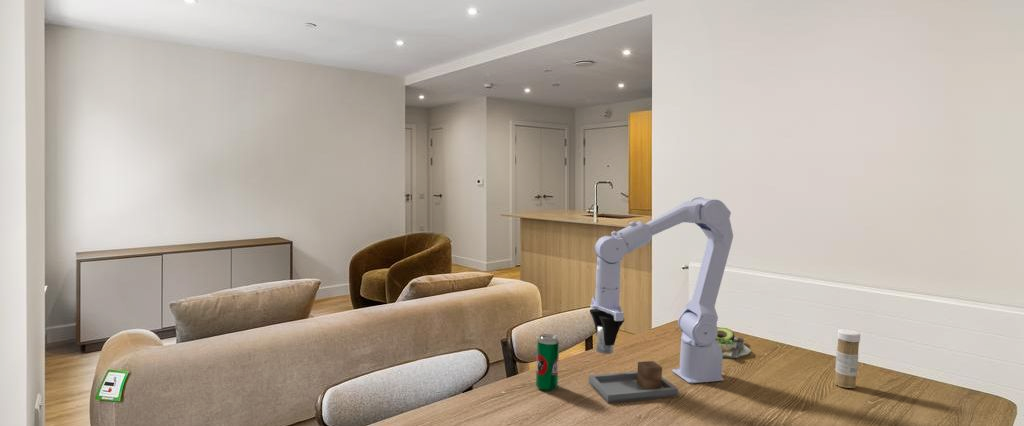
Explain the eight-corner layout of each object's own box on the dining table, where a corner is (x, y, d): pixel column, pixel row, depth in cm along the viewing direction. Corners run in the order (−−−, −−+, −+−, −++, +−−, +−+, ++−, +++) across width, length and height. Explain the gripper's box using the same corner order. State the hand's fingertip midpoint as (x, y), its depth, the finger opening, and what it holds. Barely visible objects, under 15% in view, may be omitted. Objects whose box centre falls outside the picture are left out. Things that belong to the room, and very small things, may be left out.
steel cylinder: (608, 347, 129) (609, 323, 129) (615, 353, 126) (616, 328, 125) (593, 348, 129) (594, 324, 128) (600, 354, 125) (601, 329, 124)
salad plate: (766, 364, 140) (767, 348, 139) (698, 362, 140) (699, 345, 140) (738, 340, 159) (739, 326, 158) (678, 338, 160) (679, 323, 159)
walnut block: (652, 381, 124) (653, 360, 124) (661, 388, 120) (662, 367, 120) (637, 382, 123) (638, 362, 123) (645, 389, 120) (646, 368, 119)
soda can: (556, 392, 118) (558, 341, 117) (534, 390, 119) (535, 339, 118) (558, 384, 123) (560, 334, 122) (537, 381, 124) (539, 332, 123)
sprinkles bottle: (847, 382, 128) (852, 328, 127) (860, 390, 124) (865, 334, 123) (829, 381, 128) (833, 328, 127) (841, 389, 124) (846, 334, 122)
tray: (653, 377, 128) (653, 370, 128) (677, 396, 118) (678, 388, 118) (588, 382, 124) (588, 375, 124) (607, 403, 114) (608, 395, 113)
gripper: (581, 280, 132) (579, 333, 133) (604, 294, 118) (602, 353, 119) (607, 279, 133) (605, 331, 135) (633, 293, 119) (630, 351, 121)
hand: (605, 341), depth 127 cm, fingers closed on steel cylinder, 4 cm apart
